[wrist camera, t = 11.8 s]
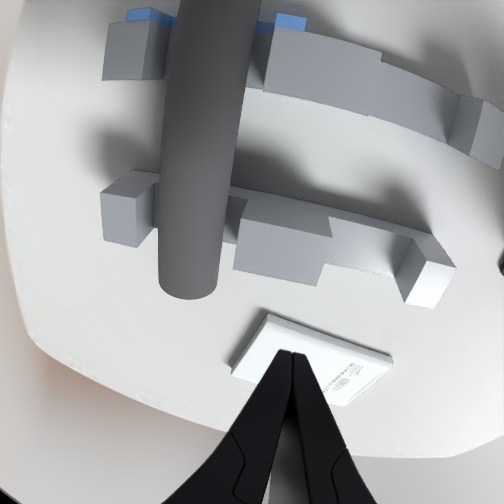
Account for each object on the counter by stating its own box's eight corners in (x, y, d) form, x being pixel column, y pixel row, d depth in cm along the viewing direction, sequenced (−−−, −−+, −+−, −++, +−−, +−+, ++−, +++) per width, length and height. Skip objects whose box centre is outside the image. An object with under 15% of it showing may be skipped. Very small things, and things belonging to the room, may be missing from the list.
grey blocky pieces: (478, 99, 12) (518, 109, 9) (415, 271, 19) (434, 310, 16) (147, 22, 13) (109, 12, 9) (133, 211, 20) (102, 241, 16)
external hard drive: (268, 307, 23) (391, 352, 24) (232, 363, 28) (341, 396, 29) (266, 322, 22) (394, 366, 23) (229, 376, 26) (342, 409, 27)
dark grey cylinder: (264, -2, 11) (262, -23, 8) (221, 267, 19) (211, 304, 16) (195, -7, 11) (175, -26, 8) (167, 258, 19) (151, 292, 16)
